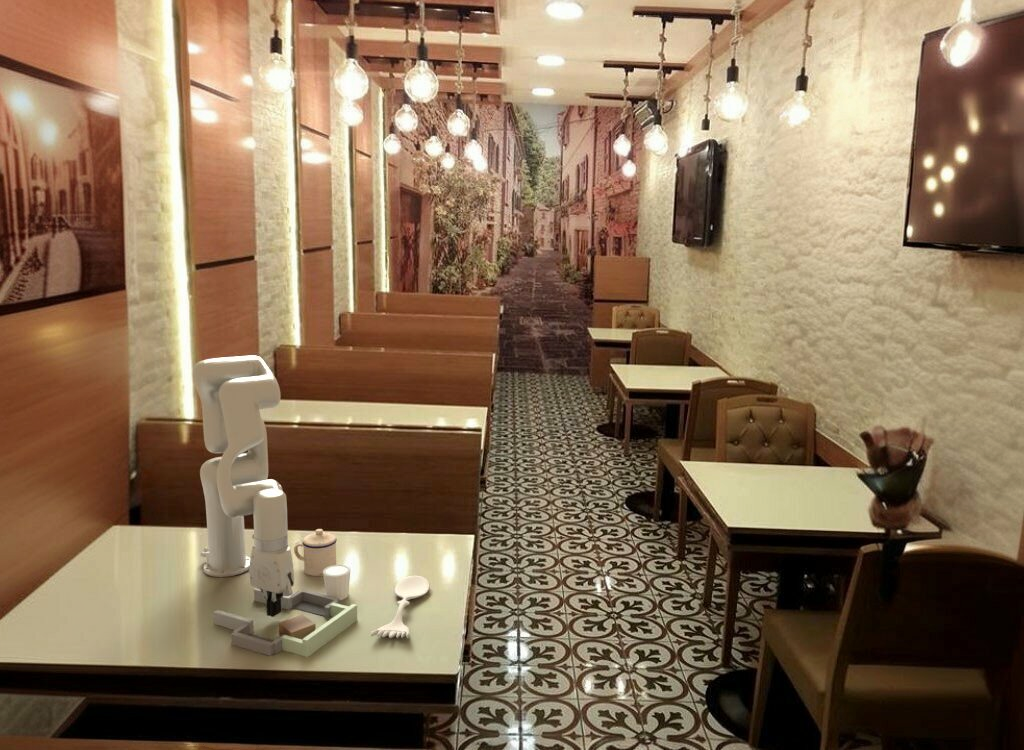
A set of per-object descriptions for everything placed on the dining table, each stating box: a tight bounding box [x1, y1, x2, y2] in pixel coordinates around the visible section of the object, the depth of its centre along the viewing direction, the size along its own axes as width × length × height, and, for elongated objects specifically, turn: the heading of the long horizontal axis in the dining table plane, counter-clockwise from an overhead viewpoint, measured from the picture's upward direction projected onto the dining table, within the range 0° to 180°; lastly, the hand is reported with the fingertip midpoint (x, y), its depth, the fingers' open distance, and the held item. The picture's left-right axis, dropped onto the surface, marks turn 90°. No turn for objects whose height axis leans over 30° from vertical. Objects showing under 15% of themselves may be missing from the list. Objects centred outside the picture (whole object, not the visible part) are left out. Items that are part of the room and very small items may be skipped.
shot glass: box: [322, 564, 351, 601], centre depth 200 cm, size 7×7×7 cm
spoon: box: [370, 575, 431, 639], centre depth 192 cm, size 9×32×4 cm, turn 176°
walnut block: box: [278, 614, 317, 640], centre depth 179 cm, size 6×6×4 cm
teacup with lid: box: [293, 528, 337, 577], centre depth 215 cm, size 12×9×12 cm
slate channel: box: [213, 587, 358, 658], centre depth 186 cm, size 29×18×4 cm, turn 65°
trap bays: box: [230, 589, 341, 657], centre depth 185 cm, size 12×25×2 cm, turn 155°
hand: (274, 613), depth 187 cm, fingers closed
